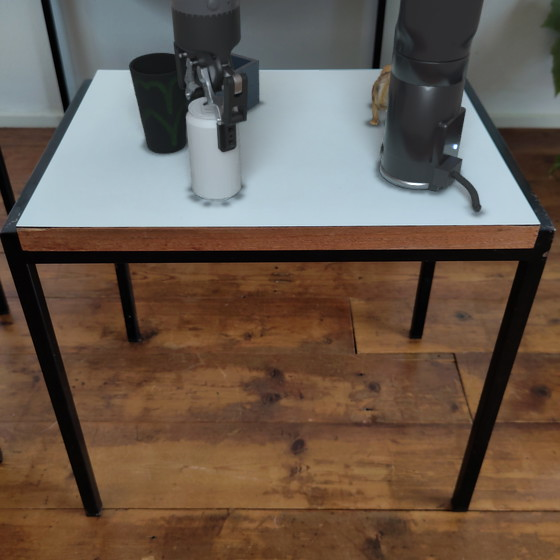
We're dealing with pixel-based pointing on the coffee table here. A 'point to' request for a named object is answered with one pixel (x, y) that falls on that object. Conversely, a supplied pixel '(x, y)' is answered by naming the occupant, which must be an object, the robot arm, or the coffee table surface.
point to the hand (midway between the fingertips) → (213, 137)
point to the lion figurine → (380, 93)
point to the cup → (160, 101)
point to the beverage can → (211, 155)
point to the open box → (252, 71)
